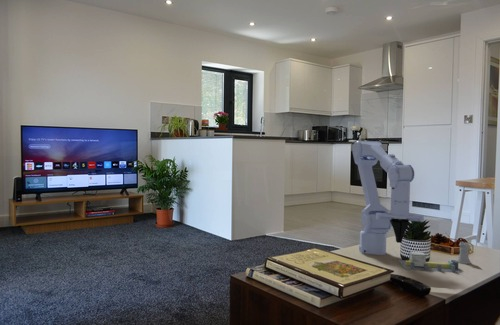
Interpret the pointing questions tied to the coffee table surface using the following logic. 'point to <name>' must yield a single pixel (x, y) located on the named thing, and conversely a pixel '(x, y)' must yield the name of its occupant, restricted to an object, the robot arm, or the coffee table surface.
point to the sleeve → (417, 258)
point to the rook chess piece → (463, 253)
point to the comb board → (432, 266)
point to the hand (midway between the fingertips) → (398, 242)
